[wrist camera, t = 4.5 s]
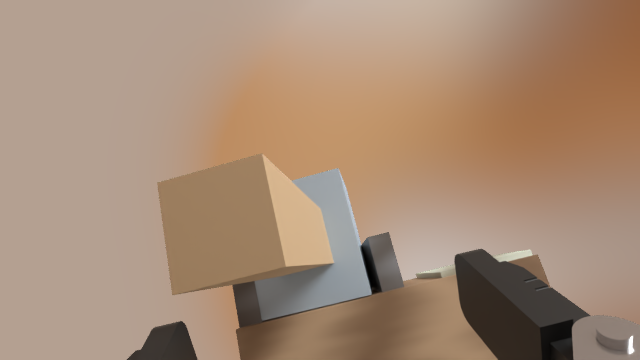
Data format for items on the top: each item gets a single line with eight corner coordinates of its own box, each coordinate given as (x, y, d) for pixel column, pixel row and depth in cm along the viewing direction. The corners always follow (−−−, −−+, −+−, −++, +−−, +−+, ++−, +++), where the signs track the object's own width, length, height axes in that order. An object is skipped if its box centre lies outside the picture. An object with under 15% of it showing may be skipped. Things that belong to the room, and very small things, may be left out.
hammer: (126, 393, 9) (100, 130, 11) (287, 307, 25) (267, 209, 27) (367, 338, 8) (299, 71, 10) (372, 286, 25) (346, 188, 27)
